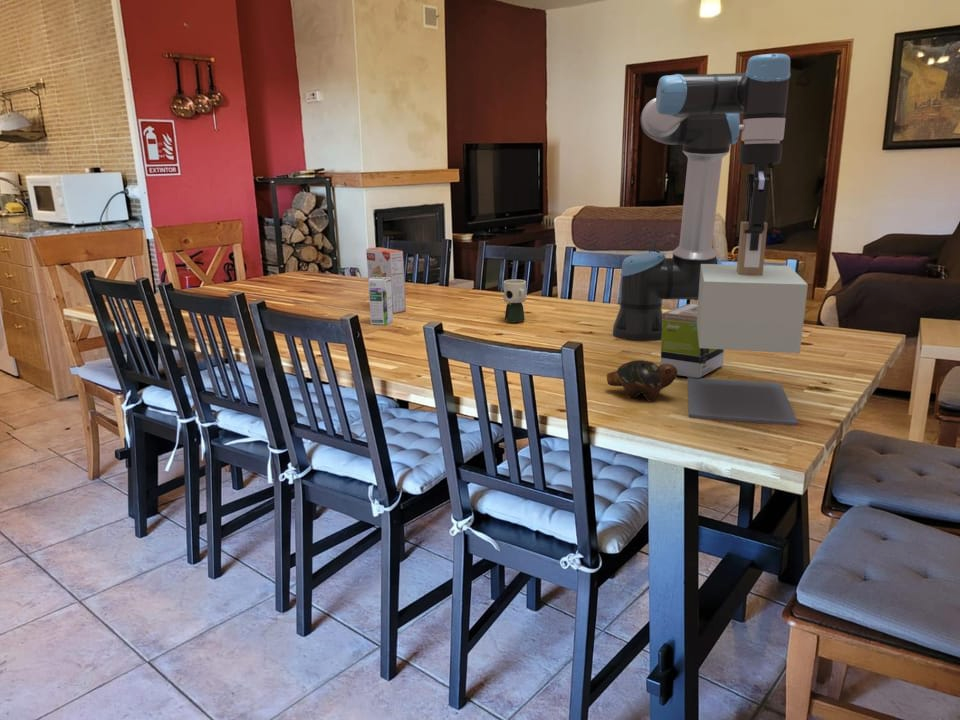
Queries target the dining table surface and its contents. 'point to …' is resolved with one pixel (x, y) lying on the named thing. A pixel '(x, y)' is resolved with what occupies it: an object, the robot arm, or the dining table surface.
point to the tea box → (686, 344)
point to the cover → (750, 305)
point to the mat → (739, 401)
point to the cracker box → (389, 272)
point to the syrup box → (380, 300)
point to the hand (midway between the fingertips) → (750, 264)
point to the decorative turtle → (642, 378)
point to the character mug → (514, 299)
